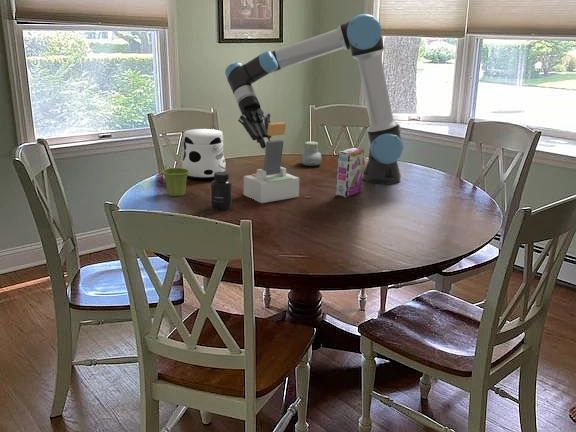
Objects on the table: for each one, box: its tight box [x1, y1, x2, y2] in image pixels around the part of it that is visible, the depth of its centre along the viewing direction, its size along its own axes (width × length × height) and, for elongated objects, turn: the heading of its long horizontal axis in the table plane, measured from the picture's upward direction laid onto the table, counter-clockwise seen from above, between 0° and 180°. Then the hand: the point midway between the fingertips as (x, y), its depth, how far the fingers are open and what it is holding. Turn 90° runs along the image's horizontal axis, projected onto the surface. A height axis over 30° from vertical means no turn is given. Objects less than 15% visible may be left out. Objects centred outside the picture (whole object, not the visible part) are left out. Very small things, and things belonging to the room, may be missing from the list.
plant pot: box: [162, 167, 189, 197], centre depth 213 cm, size 9×9×9 cm
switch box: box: [243, 166, 300, 204], centre depth 213 cm, size 12×16×10 cm
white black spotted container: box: [181, 128, 226, 180], centre depth 236 cm, size 17×17×18 cm
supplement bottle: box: [210, 171, 232, 211], centre depth 198 cm, size 7×7×12 cm
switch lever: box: [263, 121, 287, 175], centre depth 208 cm, size 2×6×19 cm, turn 125°
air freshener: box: [300, 141, 322, 167], centre depth 262 cm, size 11×8×10 cm
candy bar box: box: [335, 147, 365, 198], centre depth 217 cm, size 11×5×16 cm, turn 145°
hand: (270, 154), depth 211 cm, fingers closed
